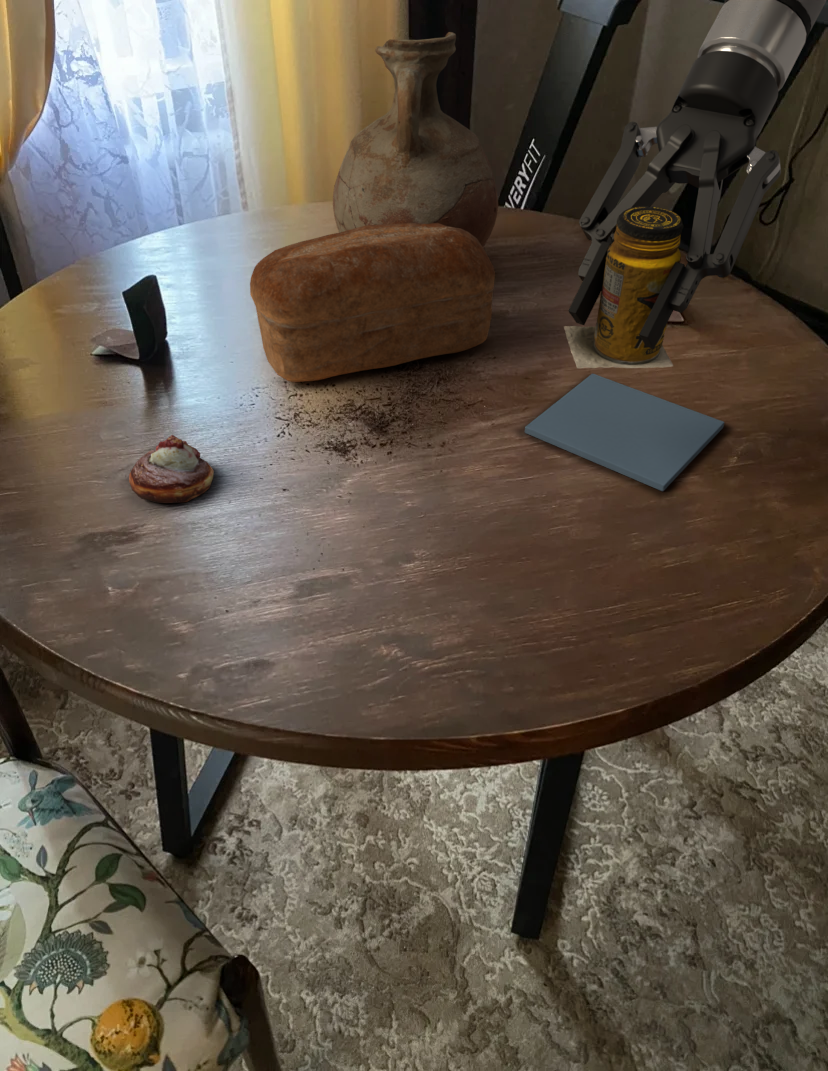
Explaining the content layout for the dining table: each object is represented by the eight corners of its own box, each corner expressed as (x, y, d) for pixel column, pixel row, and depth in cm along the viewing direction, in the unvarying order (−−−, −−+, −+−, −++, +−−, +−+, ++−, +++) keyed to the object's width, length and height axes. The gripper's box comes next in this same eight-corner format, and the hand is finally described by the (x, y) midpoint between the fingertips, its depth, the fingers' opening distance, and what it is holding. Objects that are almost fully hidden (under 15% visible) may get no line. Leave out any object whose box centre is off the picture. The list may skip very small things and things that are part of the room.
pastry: (224, 465, 84) (216, 424, 81) (197, 512, 79) (187, 470, 76) (149, 457, 86) (138, 416, 82) (117, 504, 80) (104, 461, 77)
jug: (477, 243, 126) (488, 11, 106) (509, 309, 110) (529, 50, 90) (333, 252, 124) (316, 17, 104) (344, 320, 108) (327, 57, 88)
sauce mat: (723, 428, 89) (725, 421, 89) (662, 492, 81) (664, 485, 80) (591, 379, 97) (592, 372, 96) (524, 433, 89) (524, 426, 88)
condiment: (673, 368, 73) (704, 232, 65) (576, 370, 73) (596, 234, 65) (653, 328, 79) (679, 198, 71) (563, 329, 78) (579, 199, 70)
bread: (252, 349, 102) (235, 233, 93) (462, 310, 110) (466, 199, 100) (276, 399, 94) (260, 277, 84) (502, 353, 101) (511, 236, 92)
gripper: (853, 124, 68) (722, 380, 70) (642, 86, 77) (530, 314, 79) (855, 63, 62) (710, 348, 63) (624, 30, 71) (502, 280, 72)
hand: (610, 329), depth 71 cm, fingers closed on condiment, 6 cm apart
